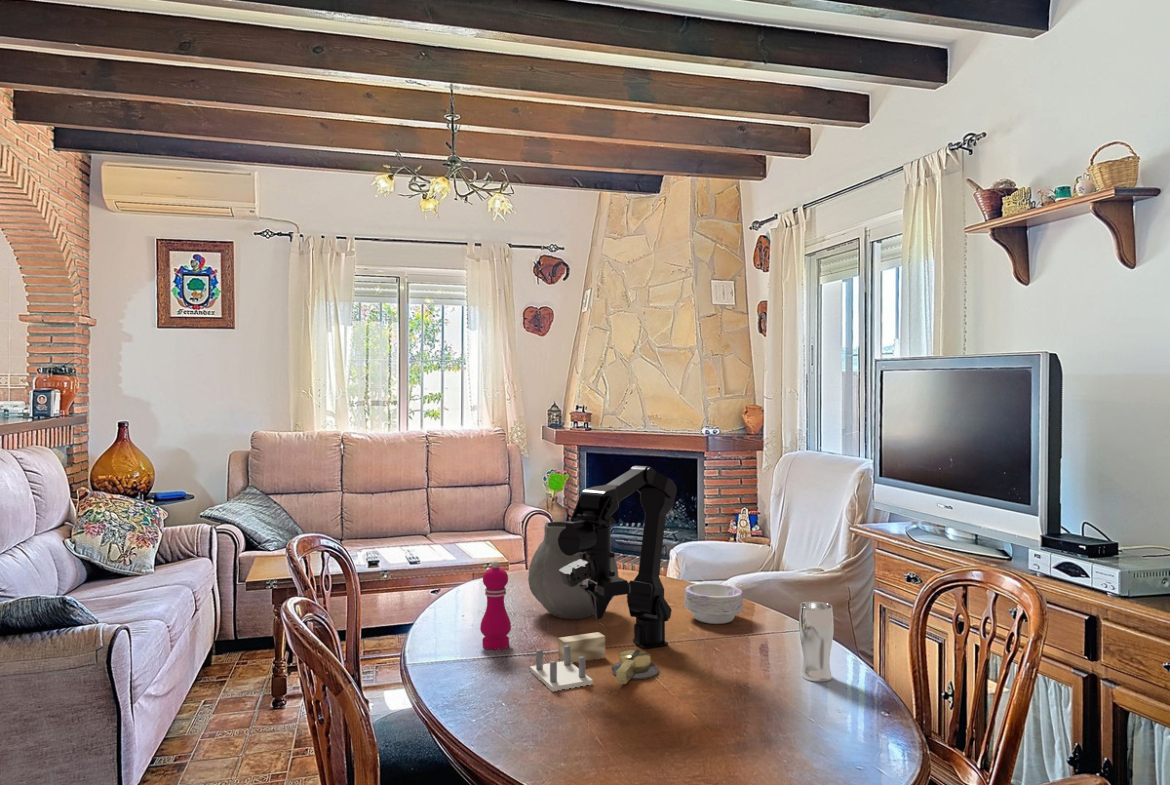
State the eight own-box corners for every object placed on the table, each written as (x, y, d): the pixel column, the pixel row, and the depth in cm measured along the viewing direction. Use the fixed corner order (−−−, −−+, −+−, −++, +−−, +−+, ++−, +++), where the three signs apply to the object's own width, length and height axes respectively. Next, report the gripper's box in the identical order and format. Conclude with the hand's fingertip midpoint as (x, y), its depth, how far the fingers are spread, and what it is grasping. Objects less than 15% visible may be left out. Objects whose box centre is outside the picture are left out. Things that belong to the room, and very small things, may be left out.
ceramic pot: (635, 611, 217) (635, 519, 217) (588, 634, 197) (587, 533, 197) (561, 598, 230) (561, 512, 230) (510, 619, 210) (509, 524, 210)
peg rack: (529, 670, 171) (529, 647, 171) (568, 664, 174) (568, 642, 174) (552, 691, 159) (551, 666, 159) (592, 684, 163) (592, 660, 163)
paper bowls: (755, 621, 207) (755, 590, 207) (712, 631, 199) (712, 599, 199) (714, 608, 220) (714, 579, 220) (672, 617, 211) (672, 587, 211)
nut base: (644, 660, 177) (644, 657, 177) (666, 675, 168) (666, 672, 168) (603, 667, 173) (603, 664, 173) (624, 682, 164) (624, 679, 164)
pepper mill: (505, 651, 184) (505, 565, 184) (476, 649, 185) (475, 563, 185) (514, 641, 191) (514, 558, 191) (486, 640, 192) (485, 557, 192)
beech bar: (598, 653, 182) (598, 632, 182) (605, 658, 179) (605, 636, 179) (558, 660, 178) (558, 637, 178) (564, 664, 175) (564, 642, 175)
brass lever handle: (624, 660, 175) (624, 647, 175) (653, 663, 172) (653, 650, 172) (605, 681, 162) (605, 667, 162) (636, 685, 160) (636, 671, 160)
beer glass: (834, 673, 169) (834, 602, 169) (833, 684, 162) (833, 611, 162) (800, 669, 171) (800, 600, 171) (798, 680, 164) (797, 608, 164)
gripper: (546, 543, 177) (547, 613, 177) (583, 559, 160) (584, 636, 160) (591, 538, 182) (592, 606, 182) (631, 553, 165) (632, 628, 165)
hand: (598, 619), depth 172 cm, fingers closed
